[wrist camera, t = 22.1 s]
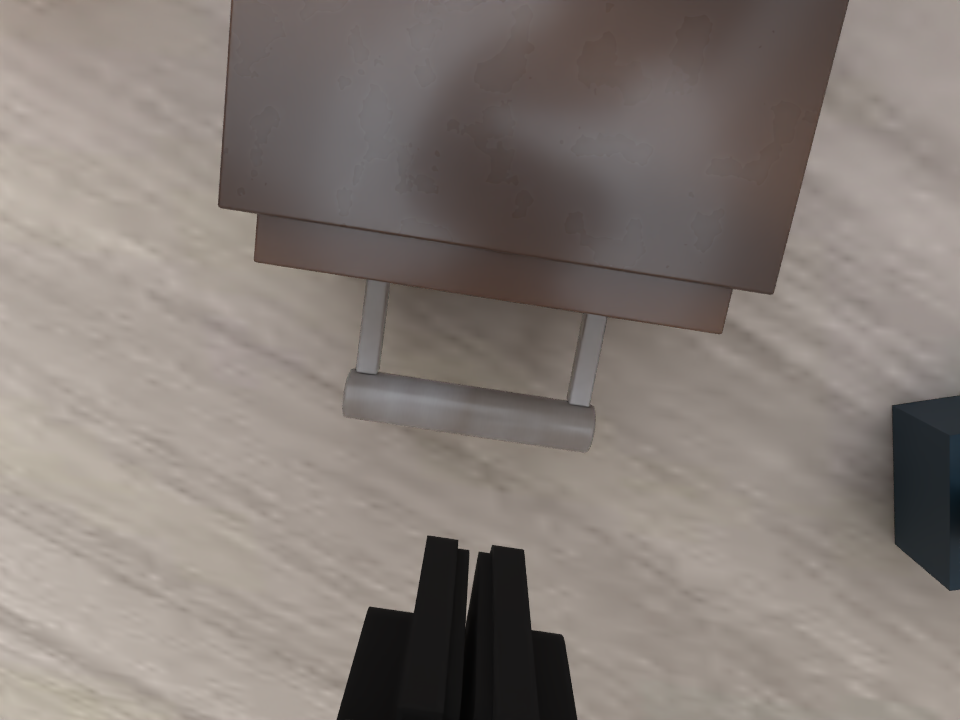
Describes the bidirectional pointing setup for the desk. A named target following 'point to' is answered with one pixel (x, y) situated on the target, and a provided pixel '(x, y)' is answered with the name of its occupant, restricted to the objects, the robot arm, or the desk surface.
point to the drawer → (491, 279)
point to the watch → (928, 485)
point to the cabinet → (535, 125)
